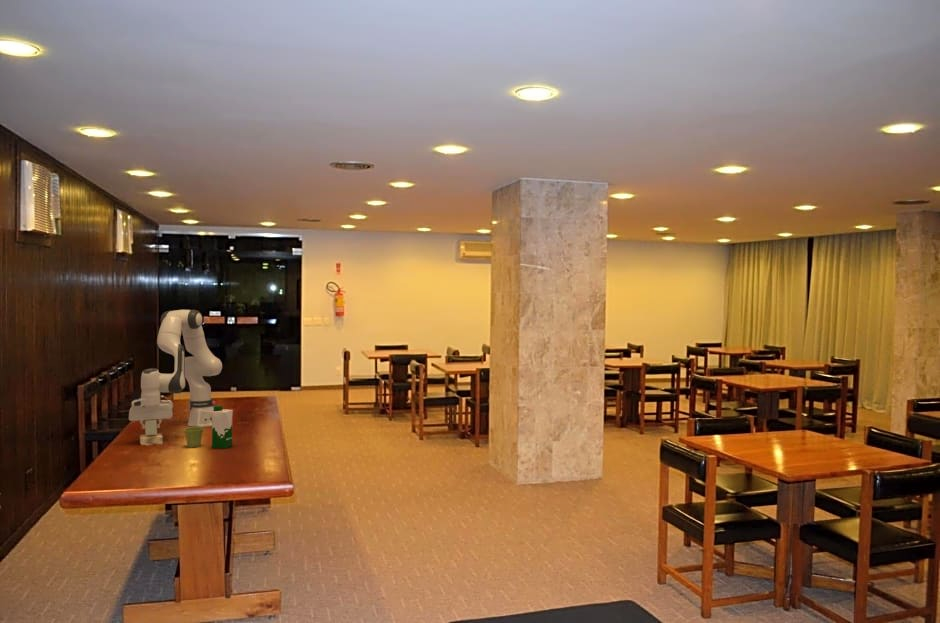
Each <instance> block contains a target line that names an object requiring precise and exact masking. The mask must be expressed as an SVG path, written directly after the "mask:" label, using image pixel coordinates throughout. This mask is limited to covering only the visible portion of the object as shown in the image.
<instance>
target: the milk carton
mask: <svg viewBox="0 0 940 623" xmlns="http://www.w3.org/2000/svg"><path fill="white" fill-rule="evenodd" d="M233 413H234V409H228V408H227V409H224V408H223V405H214V410H213V411H211V417H212V426H211V449H220V450H221V449H224V450H225V449H228V448H230V446H231V447H233Z"/></svg>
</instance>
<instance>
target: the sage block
mask: <svg viewBox="0 0 940 623" xmlns="http://www.w3.org/2000/svg"><path fill="white" fill-rule="evenodd" d="M144 421H145V424H144V425H145V429H144V430H145V435H152V434H158V428H157V424H158V423H157V422H158V419H155V420H144Z"/></svg>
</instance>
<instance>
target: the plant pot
mask: <svg viewBox="0 0 940 623" xmlns="http://www.w3.org/2000/svg"><path fill="white" fill-rule="evenodd" d="M204 428H205V427H195V426H192V427H187V428H184V429H183V432H184V435H185V440H186V445H187V447H188V448H199V447H200V446H201V444H202V438H203V437H202V435H203V431H204Z"/></svg>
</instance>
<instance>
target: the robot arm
mask: <svg viewBox="0 0 940 623" xmlns="http://www.w3.org/2000/svg"><path fill="white" fill-rule="evenodd" d="M203 321H204V320H203V315H202V313H201V312H200V311H199V310H196V309H177V310H167V311H165V312H163V313H162V314H161V317H160V326H159V330H158V333H157V340H156V344H157V346H158V348H159V349H160V350H161V351H162V352H164V353H166V354H169V355H172V356H173V358H174V368H173V369H174V371H173V372H172V373H161V372H159V369H158V368H153V367H151V368H146V369H144V370H142V372H141V376H140V389H141V394H140V398H138V399H134V400H132V402H131V406H130V409H129V411H128V412H129V413H128V420H129V421H130V422H137V421H139V423H140V425H141V426H142V430H145V424H144V421H146V420H155V419H157V420H158V423H157V429H160V426H161V423H162V422H163V420H165V419H167V420H168V419H172V418H173V415H174V414H173V408H174V402H173V401H172V400H170V399H167V400H163V399H162V400H161V393H170V394H180V393H181V392H182V391H183V390H184V389H185V387H186V381H187V383H188V386H189V395H190V397H189V399H190V400H189V403H188V406H189V407H188V408H189V418H188V421H187V426H188V427H202V428H205V427H206V428H207V427H212V417H211V411H213V410H214V406H216V405H215V404H216V403H217V402H216V401H215V400H214V399H212V394H211V393H212V387H211V385H210V384H209V383H208V382H206V381H205V380H204V377H212V376H217V375H219V374H221V372H222V369H223V363H222V361H221V359H220V358H218V357H217V356H215V355H214V354H213V353H212V351H211V350H210V348H209V347H208V345H207V342H206V338H205V332H204V330H203V326H202V325H203ZM181 336H183V337H182V338H183V341H184V342H183V343H184V346H183V345H182V344H181ZM184 347H185V348H184ZM185 350H186V351H187V352H188V353H189V354H191V355H192V356H185V355H186V352H185Z"/></svg>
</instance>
